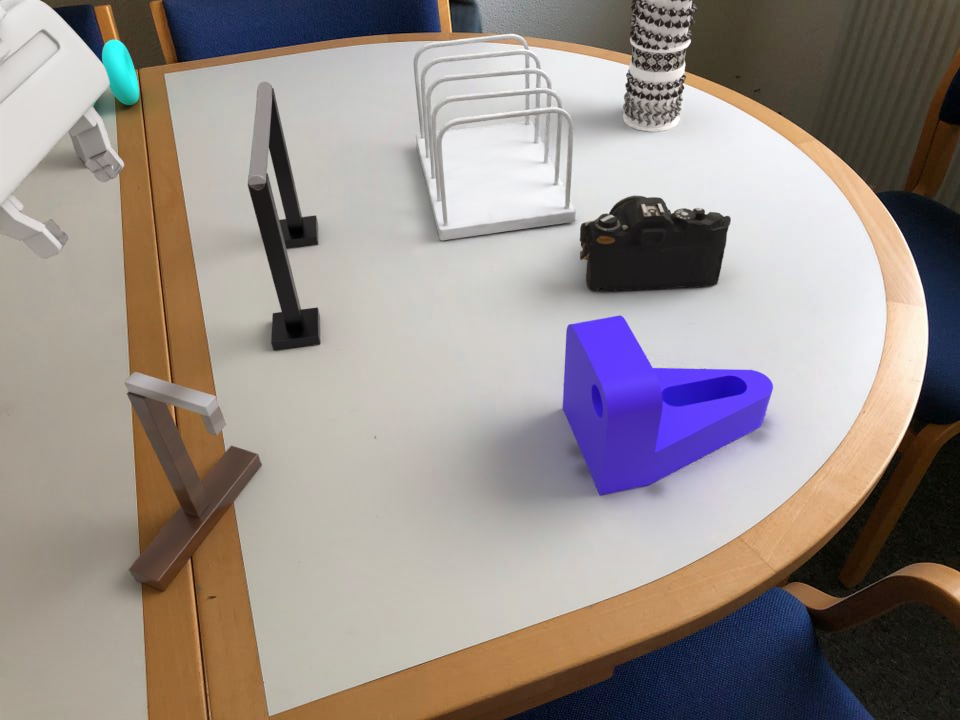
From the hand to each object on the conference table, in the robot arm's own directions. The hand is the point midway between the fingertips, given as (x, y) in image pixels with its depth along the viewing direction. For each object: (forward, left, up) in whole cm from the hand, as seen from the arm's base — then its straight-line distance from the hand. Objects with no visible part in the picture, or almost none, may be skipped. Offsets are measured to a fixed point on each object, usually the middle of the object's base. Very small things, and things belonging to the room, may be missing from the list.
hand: (87, 210), depth 56 cm
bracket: (+44, -6, -27) cm, 52 cm away
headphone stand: (+4, -9, -27) cm, 28 cm away
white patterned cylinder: (+62, +55, -27) cm, 88 cm away
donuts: (-22, +80, -27) cm, 88 cm away
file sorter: (+35, +42, -27) cm, 62 cm away
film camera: (+49, +19, -27) cm, 60 cm away
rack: (+9, +25, -27) cm, 38 cm away
